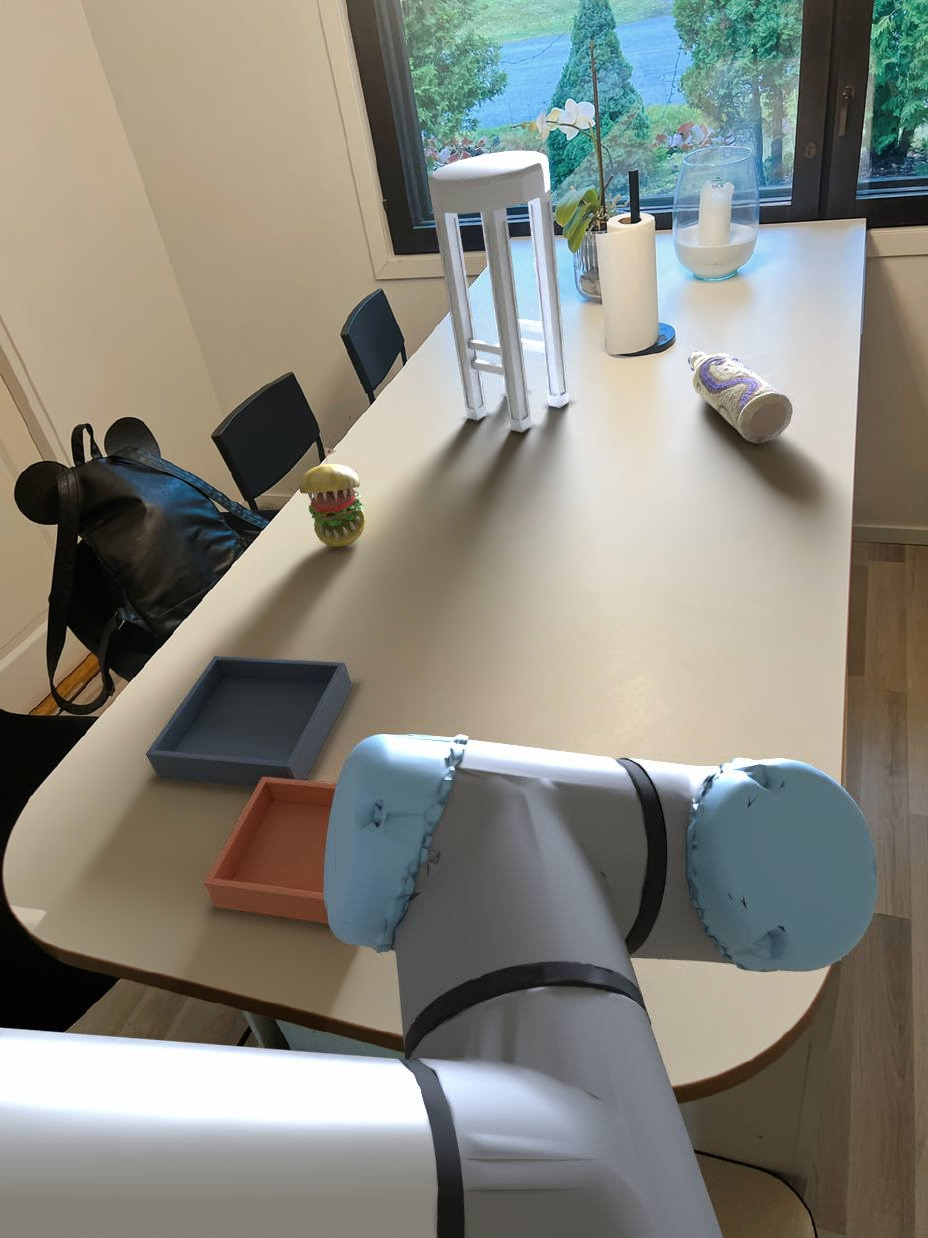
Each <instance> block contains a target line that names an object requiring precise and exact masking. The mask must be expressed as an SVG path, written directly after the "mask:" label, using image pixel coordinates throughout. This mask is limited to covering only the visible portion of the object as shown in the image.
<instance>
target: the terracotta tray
mask: <svg viewBox="0 0 928 1238" xmlns="http://www.w3.org/2000/svg"><path fill="white" fill-rule="evenodd" d="M336 785H337V783H333V782H322V781H312V780H305V781H302V780H291V779H281V778H271V777H262V778H261V780H260V782H259V783H258V785H257V787H255V789H254V791H253V792H252V794H251V795H250V798H249V800H248V802H246V803H247V804H246V805H245V807H244V809H243V811H242V812H241V814H240V816H239V817H238V820H237V821H236V823H235V825H234V827H233V829H232V830H231V833H230V834H229V837H228V838H227V839H226V841H225V842H224V845H223V847H222V848H221V850H220V853H219V854H218V856H217V858H215V859H216V860H215V861H214V863H213V865H212V867H211V869H210V870H209V872H208V874H207V876H206V878H205V879H204V881H203V885H204V888H205V889H206V892H207V893H208V895H209V896H210V898H211V900H212V902H213V903H214V905H215V907H216V908H219V909H226V910H233V911H239V912H246V913H253V914H260V915H267V916H273V917H280V918H287V919H294V920H301V921H308V922H314V923H320V924H321V923H323V924H328V925H329V923H328V912H327V910H326V908H325V903H324V862H325V849H326V839H327V832H328V825H329V818H330V812H331V807H332V802H333V797H334V793H335V789H336Z"/></svg>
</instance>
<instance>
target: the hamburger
mask: <svg viewBox="0 0 928 1238" xmlns="http://www.w3.org/2000/svg"><path fill="white" fill-rule="evenodd" d="M323 450H324V455H325V461H326V462H328V456H330V455H332V454H334V453H335V452H336V450H335V449H332V448H329V447H326V446H323ZM360 484H361V482H360V478H359V476H358V474H357V472H356V470H353V469H351V468H350V467H349V466H345V465H342V464H336V463H326V464H322V465H318V466H315V467H313V468H310V469H309V470H307V471H306V472H305V473H304V474H303V475H302V476H301V478H300V480H299V483H298V490H299V492H300V494H303V495H304V494H305V495H308V497H309V500H310V502H309V506H308V512H309V513H310V515H311V519H313V520H314V523H313V528H314V530H313V531H314V532H315V534H316V537H317V538H318V540H320V542H321V543H323V544H325V545H326V546H329V547H333V548H342V547H347V546H348V545H351V544H353V543H354V542H356V541H357V540H358V539H359V538H361V536H362V534H363V532H364V530H365V528H366V515H365V513H364V510H363V506H364V505H363V503H362V502H361V501H360V498H361V497H362V496H361V494H360V493H358V491H357V490H355V489H357V488H360Z"/></svg>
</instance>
